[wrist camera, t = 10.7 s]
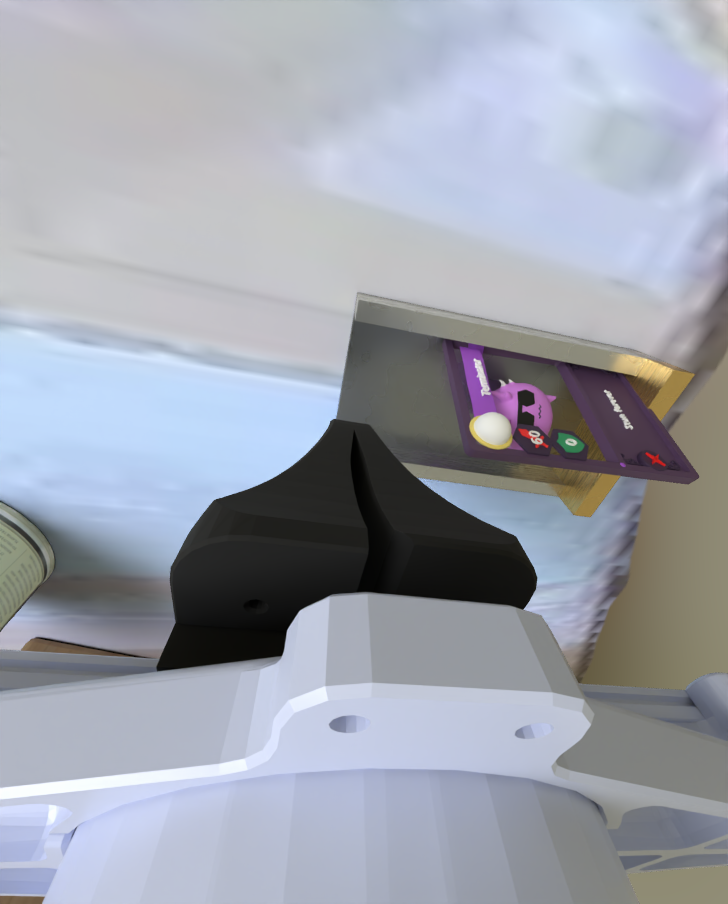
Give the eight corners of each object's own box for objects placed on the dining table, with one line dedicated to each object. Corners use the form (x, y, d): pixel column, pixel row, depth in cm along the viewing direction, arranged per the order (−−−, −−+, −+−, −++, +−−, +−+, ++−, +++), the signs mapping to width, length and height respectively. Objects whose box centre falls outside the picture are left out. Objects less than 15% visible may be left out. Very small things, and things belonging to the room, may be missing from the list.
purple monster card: (721, 468, 12) (479, 435, 11) (612, 531, 16) (427, 512, 15) (631, 352, 16) (450, 319, 15) (562, 425, 20) (415, 404, 19)
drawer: (556, 477, 21) (590, 517, 18) (331, 445, 19) (328, 483, 16) (634, 350, 17) (695, 374, 14) (357, 292, 15) (360, 306, 12)
